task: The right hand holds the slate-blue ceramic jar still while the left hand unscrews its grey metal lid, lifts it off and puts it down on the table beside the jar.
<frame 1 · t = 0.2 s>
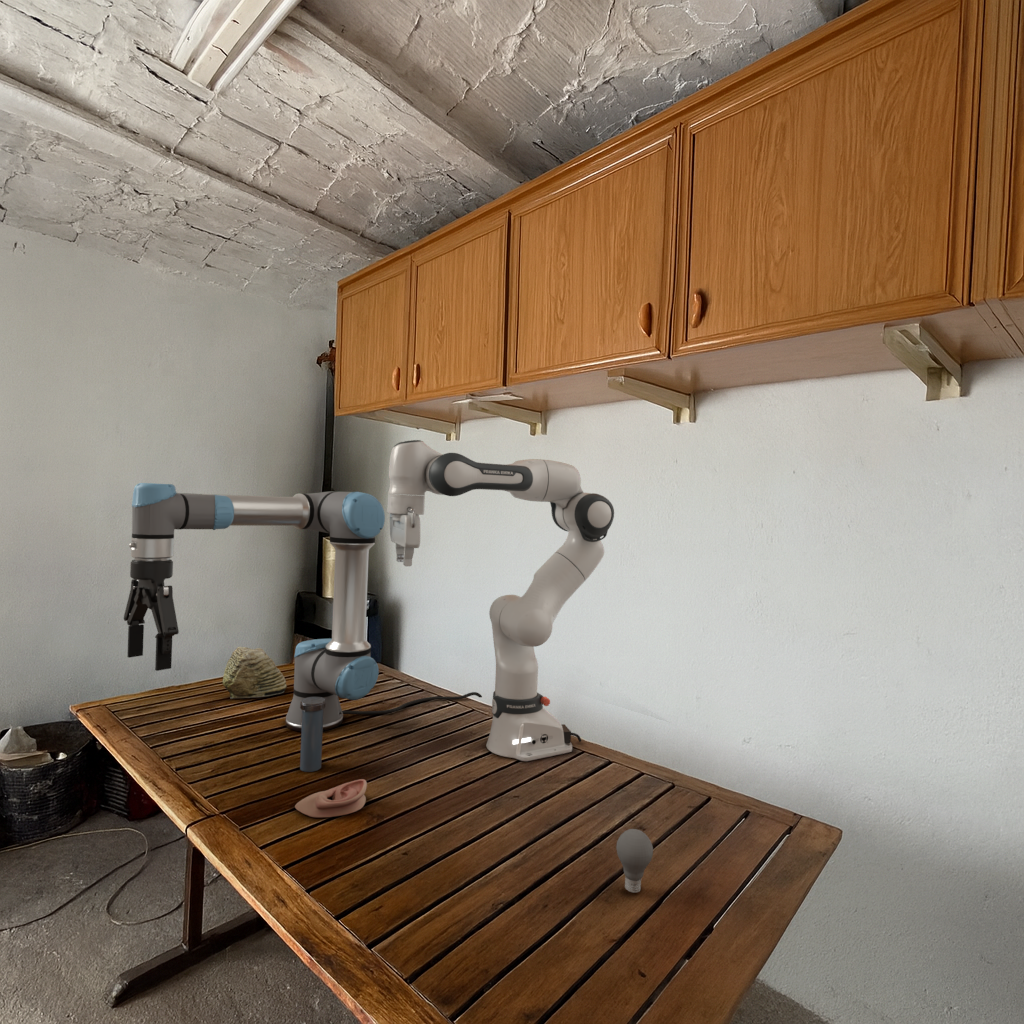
left hand: (148, 662, 129), 28 cm above the table, tool pointing down, fingers open, 13 cm apart
right hand: (403, 563, 154), 48 cm above the table, tool pointing down, fingers open, 8 cm apart
lid: (313, 701, 147), point 15 cm above the table, screwed on, not yet turned
fossil: (254, 694, 198), on the table
jar: (310, 767, 148), on the table
light bulb: (632, 891, 106), on the table
anatomical model: (331, 805, 130), on the table
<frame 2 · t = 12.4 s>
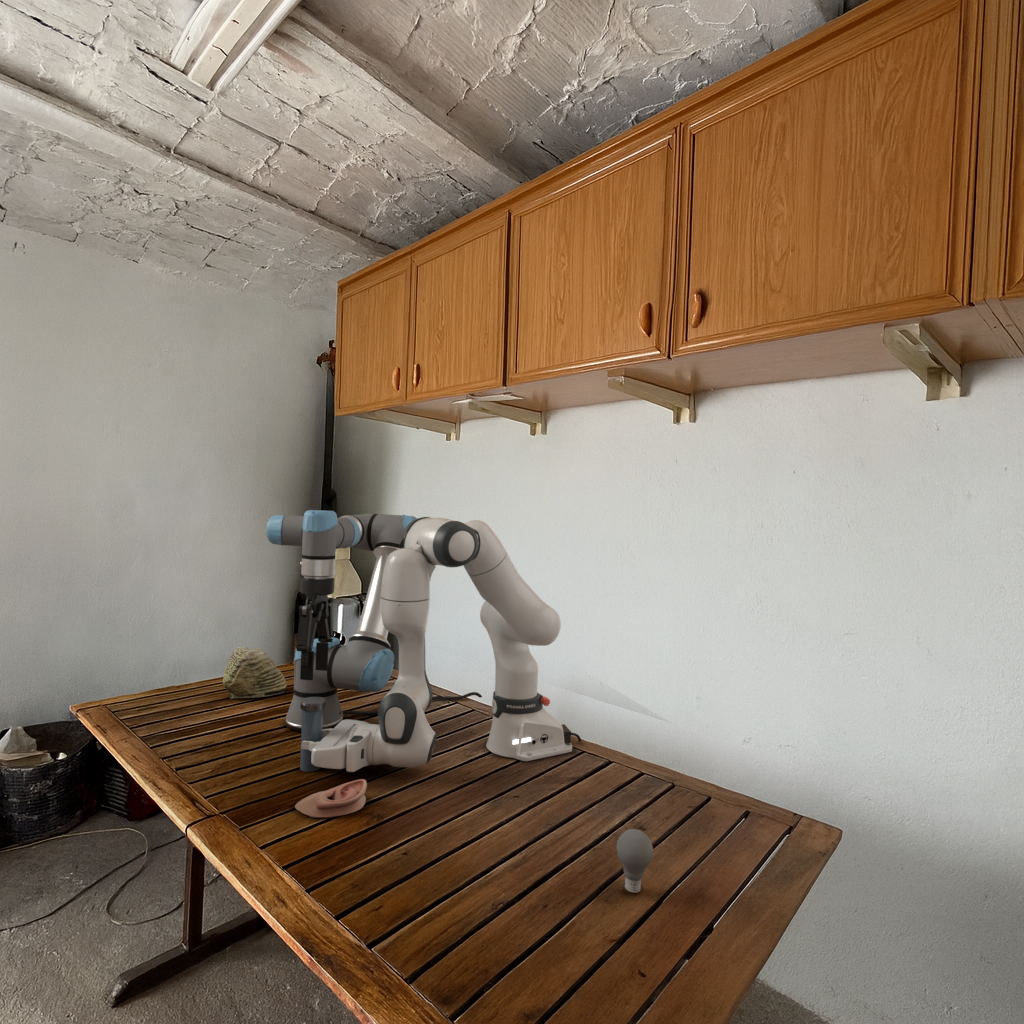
left hand: (314, 674, 147), 22 cm above the table, tool pointing down, fingers open, 7 cm apart
right hand: (307, 739, 148), 7 cm above the table, tool horizontal, fingers closed on jar, 5 cm apart
jar: (310, 767, 148), on the table, touching right hand
everything else where it was.
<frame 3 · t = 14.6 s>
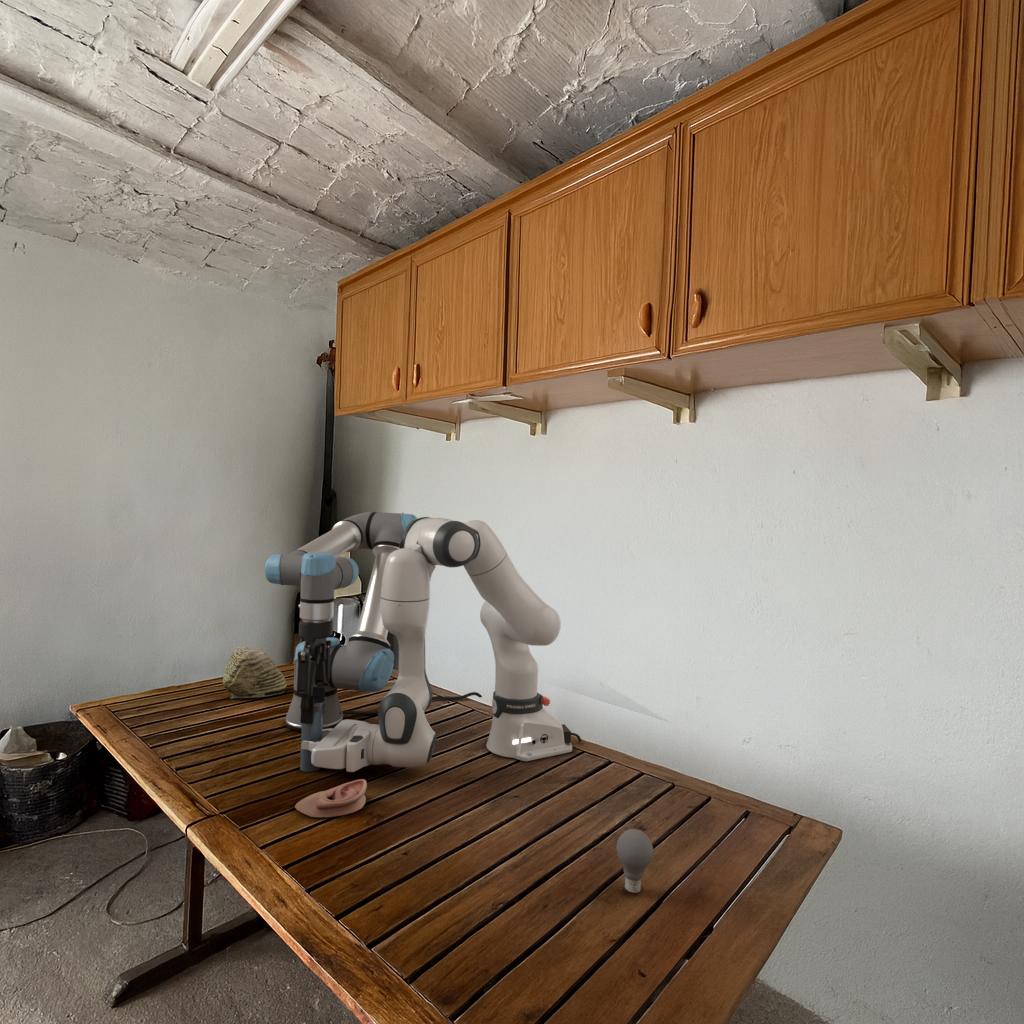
left hand: (312, 718, 148), 12 cm above the table, tool pointing down, fingers closed on lid, 5 cm apart
right hand: (307, 739, 148), 7 cm above the table, tool horizontal, fingers closed on jar, 5 cm apart
lid: (313, 701, 147), point 15 cm above the table, screwed on, not yet turned, touching left hand
jar: (310, 767, 148), on the table, touching right hand
everything else where it was.
when the left hand's fingers open (0 cm above the table, at t = 24.3 s): lid drops 3 cm, point 1 cm above the table.
when the right hand's fingers open (7 cm above the table, at t = 24.9 s): jar stays where it is, on the table.
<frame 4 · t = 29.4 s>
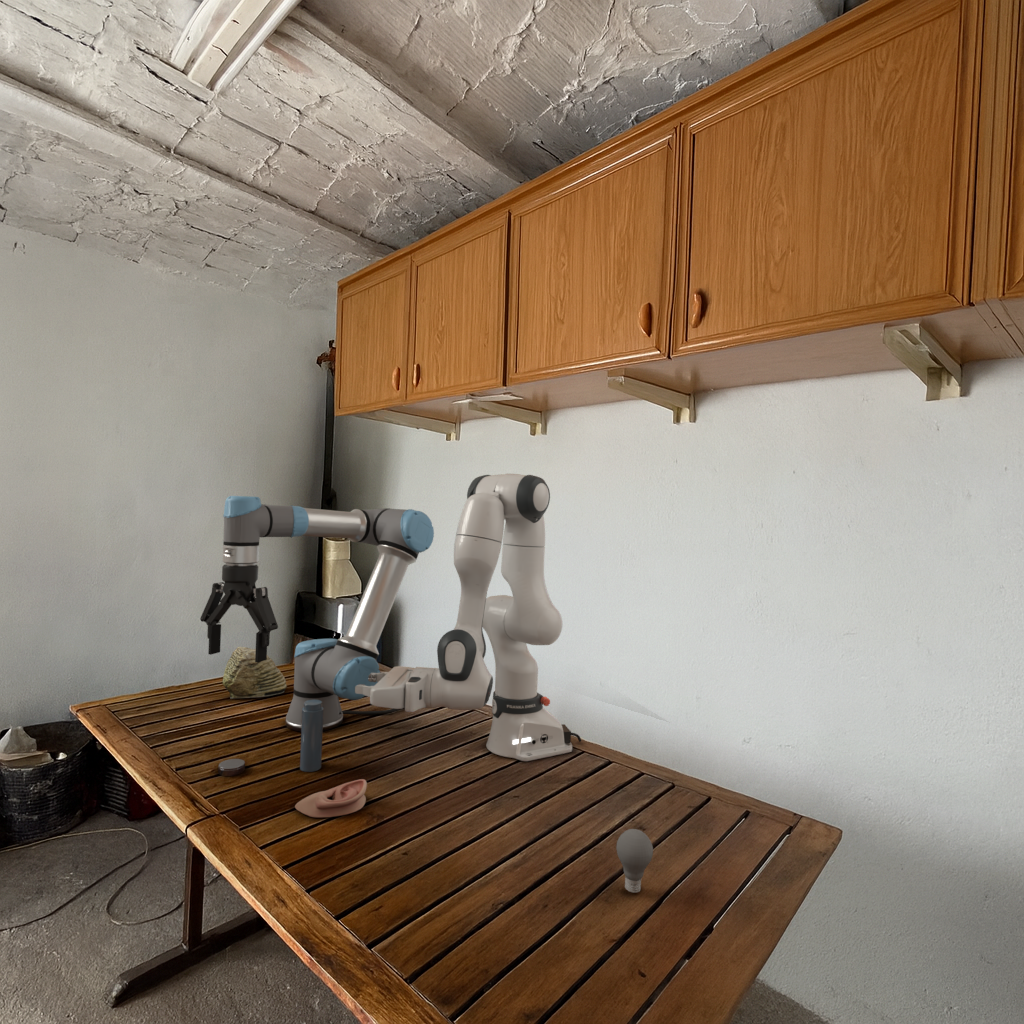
left hand: (237, 657, 144), 26 cm above the table, tool pointing down, fingers open, 13 cm apart
right hand: (362, 682, 146), 21 cm above the table, tool horizontal, fingers open, 8 cm apart
lid: (231, 765, 144), point 1 cm above the table, off its thread
jar: (310, 767, 148), on the table
everything else where it was.
at the end: lid came off its thread; lid point 1.4 cm above the table; the left hand is holding nothing; the right hand is holding nothing; jar tilted 0°; jar moved 0.0 cm from its start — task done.
